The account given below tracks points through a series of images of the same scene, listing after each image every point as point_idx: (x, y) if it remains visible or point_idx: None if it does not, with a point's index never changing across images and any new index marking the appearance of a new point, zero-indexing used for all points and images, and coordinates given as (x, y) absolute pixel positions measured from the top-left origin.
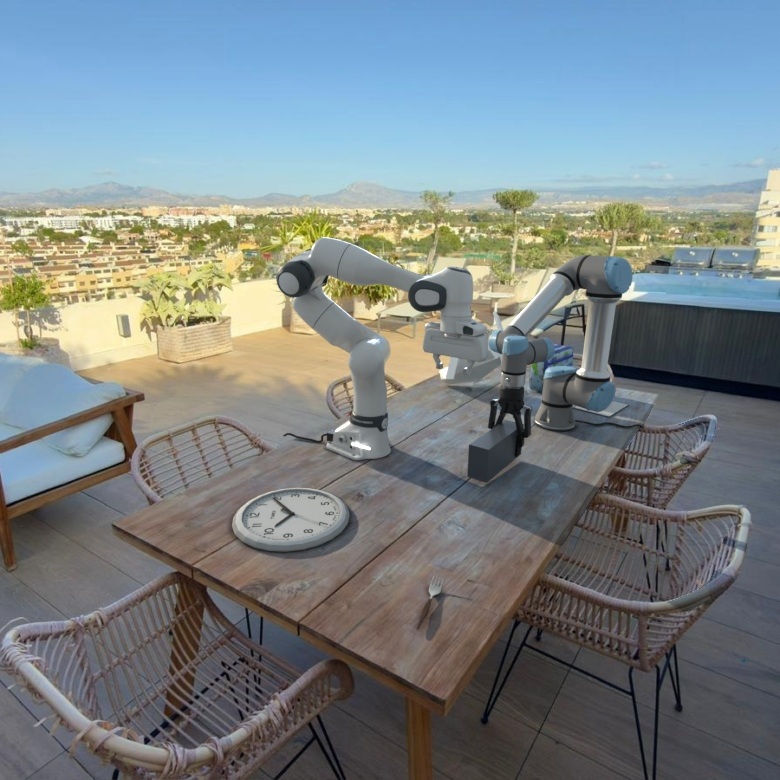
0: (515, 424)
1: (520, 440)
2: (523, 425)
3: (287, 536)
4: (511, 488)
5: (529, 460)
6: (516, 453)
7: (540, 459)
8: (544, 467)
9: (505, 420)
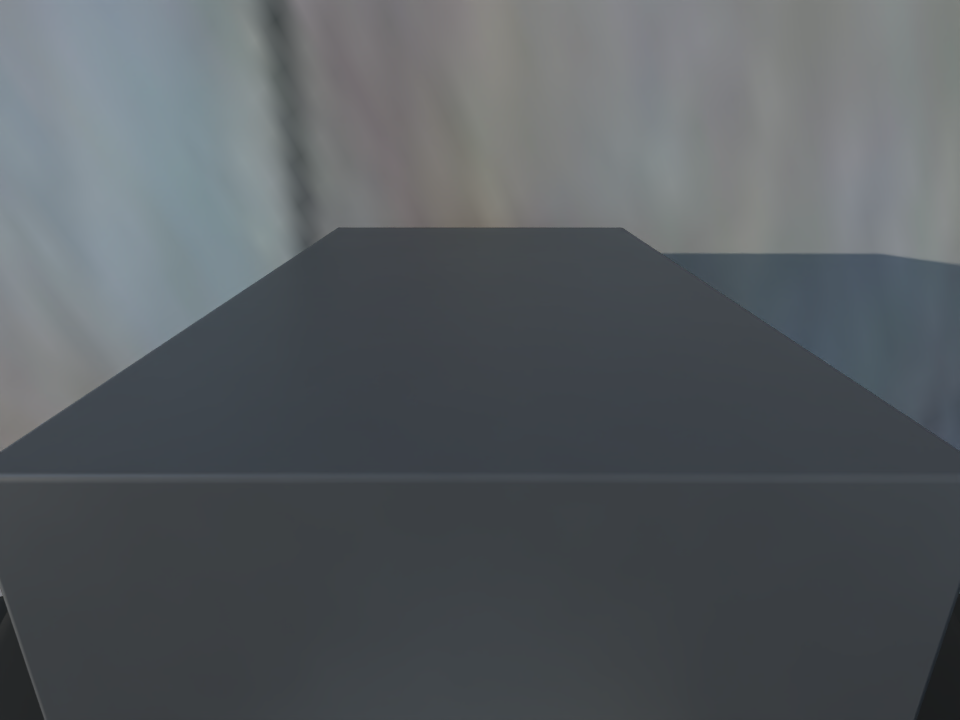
0: (647, 706)
1: None
2: (948, 466)
3: None
4: None
5: (708, 160)
6: None
7: (834, 22)
8: (924, 241)
9: (37, 563)
